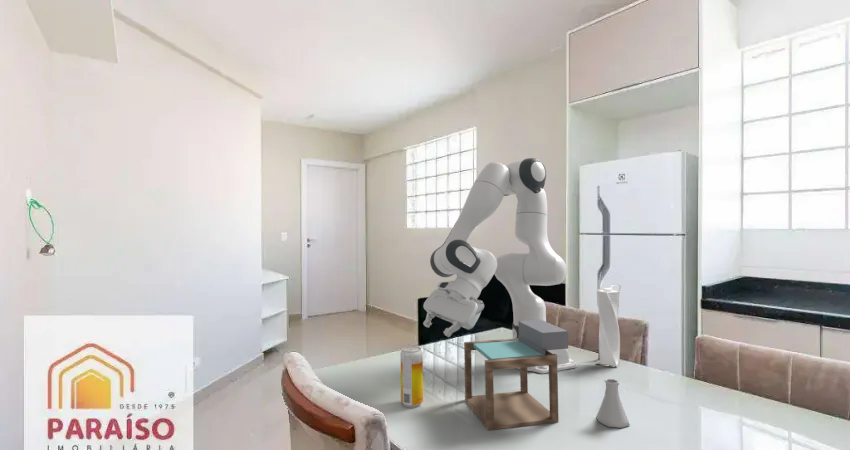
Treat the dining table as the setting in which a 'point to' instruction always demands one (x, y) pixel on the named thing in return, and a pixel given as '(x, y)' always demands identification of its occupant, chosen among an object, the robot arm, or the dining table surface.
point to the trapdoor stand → (511, 405)
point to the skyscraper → (608, 326)
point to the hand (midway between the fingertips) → (435, 330)
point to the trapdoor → (527, 341)
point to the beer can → (411, 376)
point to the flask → (612, 407)
